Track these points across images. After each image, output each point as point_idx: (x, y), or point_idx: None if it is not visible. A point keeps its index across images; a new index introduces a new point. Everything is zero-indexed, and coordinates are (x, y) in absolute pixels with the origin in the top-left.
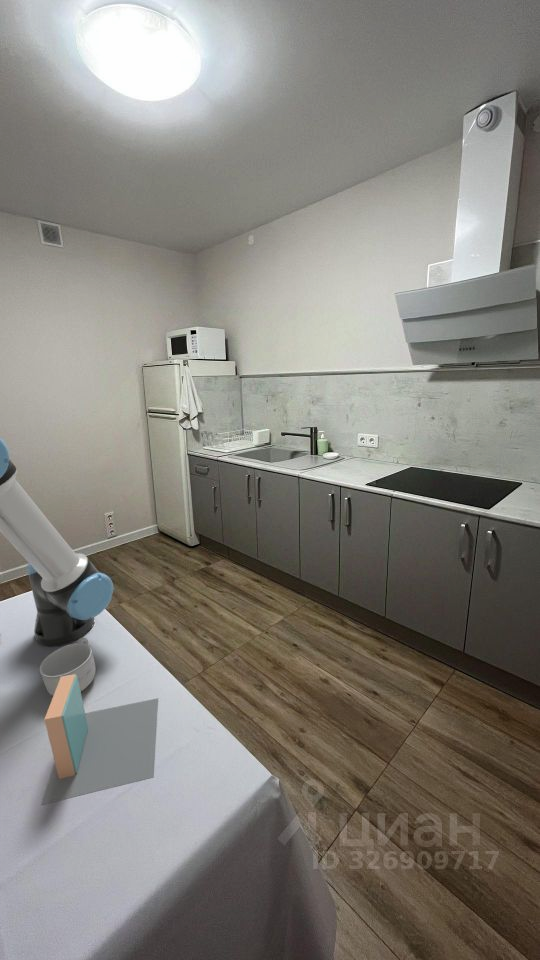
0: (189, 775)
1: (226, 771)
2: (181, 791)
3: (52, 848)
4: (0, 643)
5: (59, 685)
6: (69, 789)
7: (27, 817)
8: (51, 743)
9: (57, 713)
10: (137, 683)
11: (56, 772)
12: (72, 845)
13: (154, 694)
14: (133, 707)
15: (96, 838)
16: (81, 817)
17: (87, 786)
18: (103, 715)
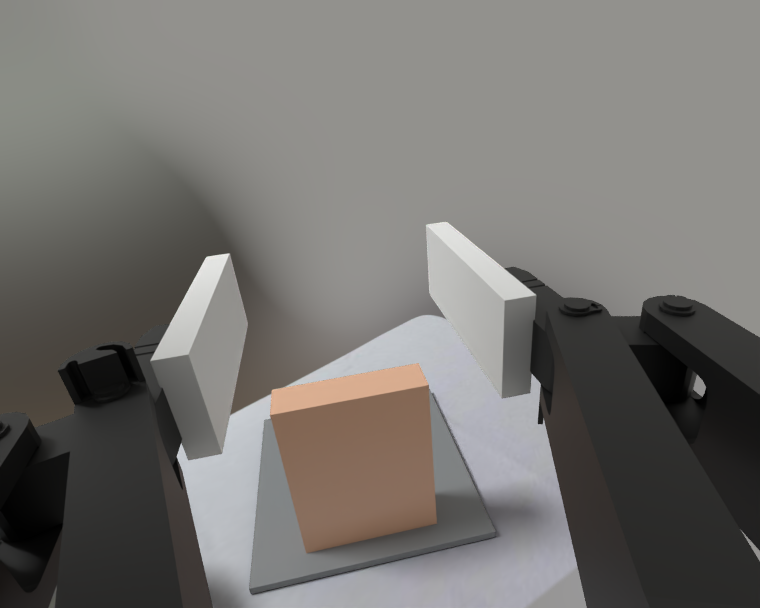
0: (422, 362)
1: (417, 336)
2: (445, 365)
3: (557, 481)
4: (245, 319)
5: (308, 404)
6: (457, 493)
7: (520, 556)
8: (431, 444)
9: (410, 371)
10: (193, 473)
11: (421, 536)
12: (543, 455)
13: (245, 434)
14: (273, 451)
15: (525, 430)
16: (499, 461)
17: (449, 465)
18: (276, 501)
